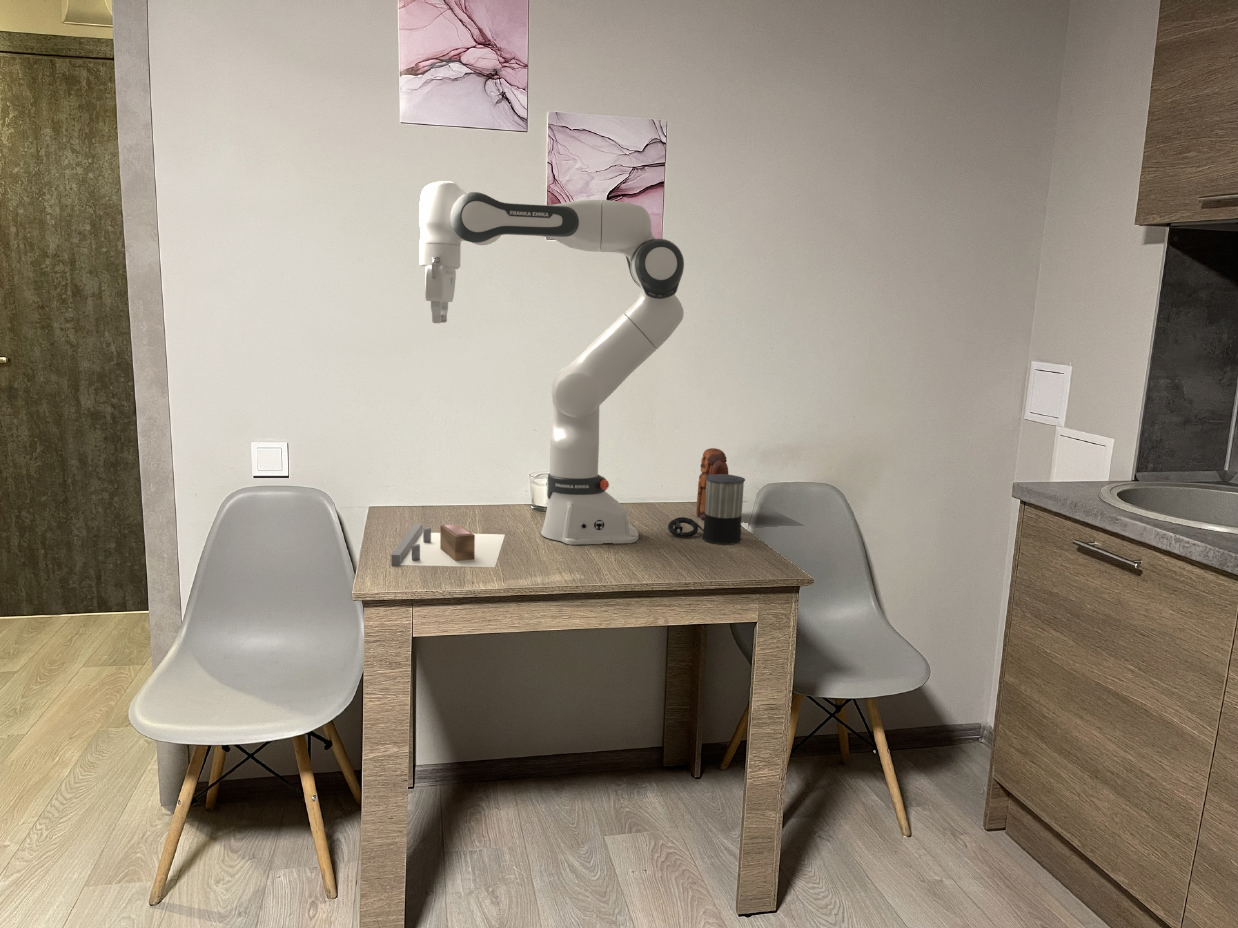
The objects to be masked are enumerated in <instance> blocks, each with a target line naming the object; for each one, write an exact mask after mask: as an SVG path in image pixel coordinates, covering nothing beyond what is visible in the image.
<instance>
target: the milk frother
mask: <svg viewBox="0 0 1238 928" xmlns="http://www.w3.org/2000/svg"><path fill="white" fill-rule="evenodd" d="M705 478H706V479H707V482H706V501H705V519H704V520H703V527H701V525H700V524H698V523H697V521H695V520H693V519H692V518H688V517H685V516H681V517H676V518H674V519H673V520H670V522H669V523H668V525H667V530H668V532H669V533H670V534H672V535H674V536H676V537H681V538H691V537H693V536H695V535H697V534H698V532H699V529H700V530H701V531H702V536H701V539H702V540H703V541H705V542H707V541H708V542H707V543H710V542H711V544H716V543H720V544H719V545H734V544H733V543H736V544H739V543H741V542H742V538H741V536H742V513H743V502H744V487H745V482H746V478H745V477H742V476H739V475H734V474H728V475H725V474H713V475H707V476H706V477H705ZM682 524H688V525H689V526H691V528H692V530H690V531H686V532H683V529H684V527H683V526H682ZM740 541H741V542H740Z"/></svg>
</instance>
